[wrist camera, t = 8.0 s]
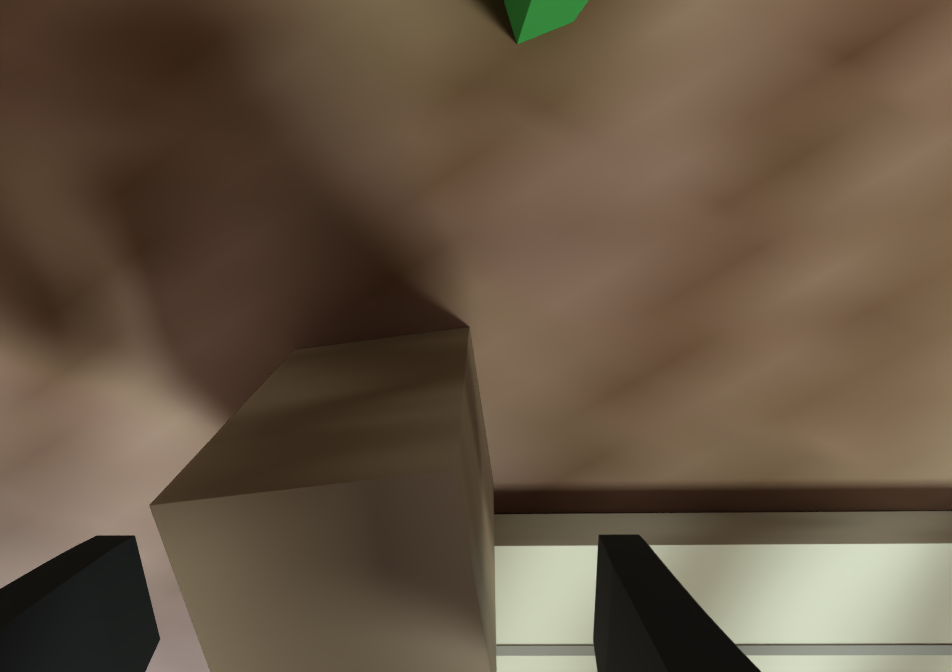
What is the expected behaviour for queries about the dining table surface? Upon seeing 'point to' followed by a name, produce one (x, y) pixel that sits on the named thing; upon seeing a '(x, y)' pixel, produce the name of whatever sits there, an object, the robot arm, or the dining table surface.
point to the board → (741, 586)
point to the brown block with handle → (344, 516)
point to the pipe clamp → (540, 16)
